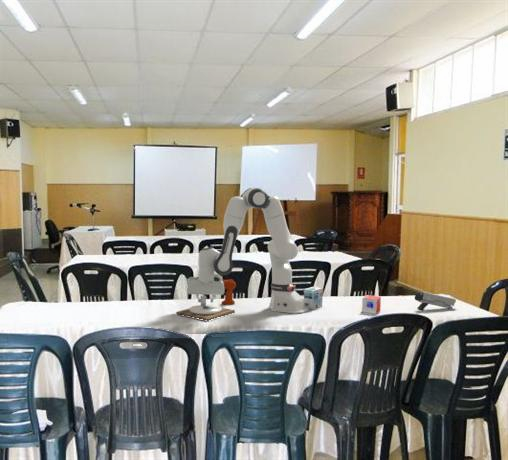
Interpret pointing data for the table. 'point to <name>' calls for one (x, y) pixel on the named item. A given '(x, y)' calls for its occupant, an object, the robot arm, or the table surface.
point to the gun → (433, 300)
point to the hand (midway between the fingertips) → (205, 302)
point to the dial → (205, 308)
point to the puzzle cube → (371, 304)
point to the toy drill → (228, 292)
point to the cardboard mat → (206, 317)
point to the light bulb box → (313, 297)
